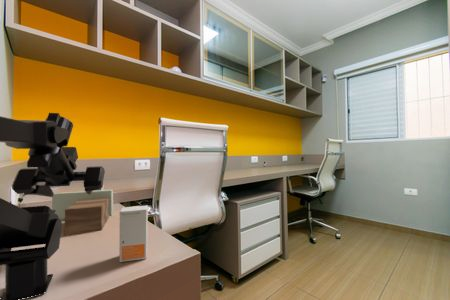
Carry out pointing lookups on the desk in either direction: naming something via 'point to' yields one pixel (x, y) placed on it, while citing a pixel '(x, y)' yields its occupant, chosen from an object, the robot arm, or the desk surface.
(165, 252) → the desk surface
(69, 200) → the sage board
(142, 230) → the skincare box
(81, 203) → the walnut block
